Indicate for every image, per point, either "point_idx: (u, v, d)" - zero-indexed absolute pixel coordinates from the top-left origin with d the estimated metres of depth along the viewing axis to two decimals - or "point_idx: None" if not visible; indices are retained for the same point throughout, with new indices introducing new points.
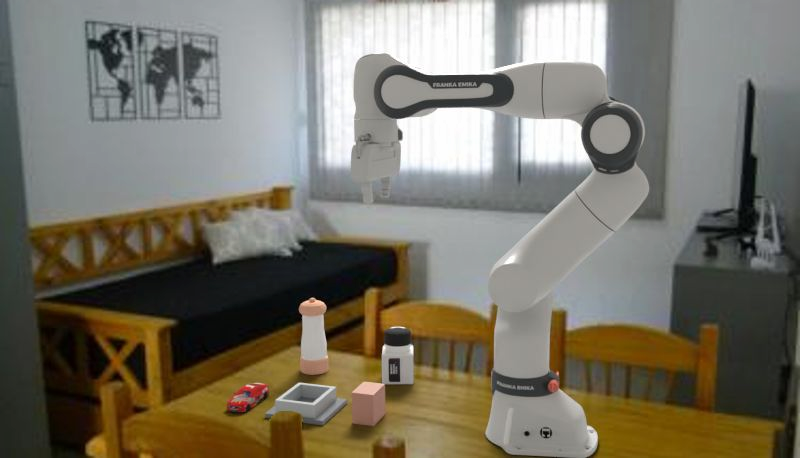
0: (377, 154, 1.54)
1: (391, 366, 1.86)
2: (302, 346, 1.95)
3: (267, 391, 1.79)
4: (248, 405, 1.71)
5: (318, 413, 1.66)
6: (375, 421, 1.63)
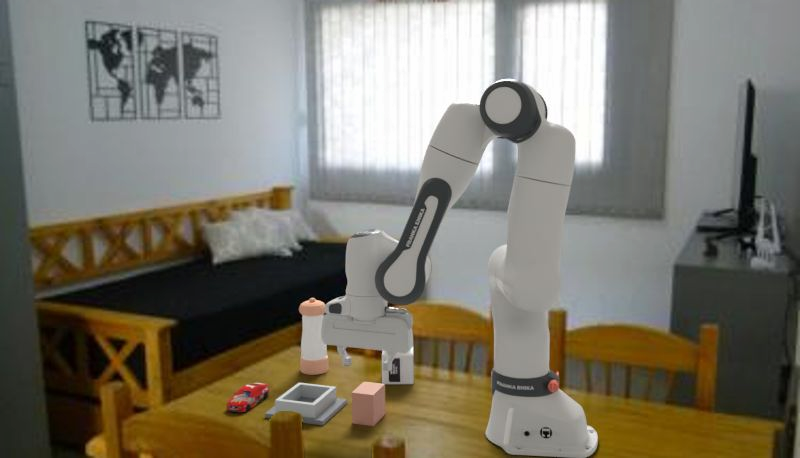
0: None
1: None
2: (302, 346, 1.95)
3: (267, 391, 1.79)
4: (248, 405, 1.71)
5: (318, 413, 1.66)
6: (375, 421, 1.63)
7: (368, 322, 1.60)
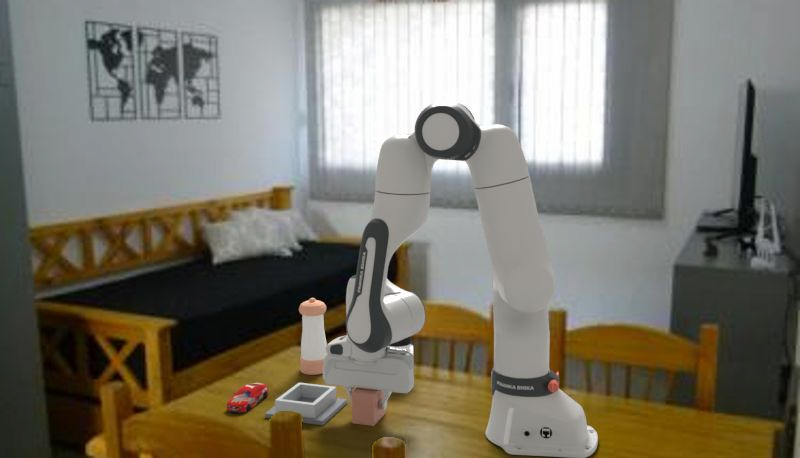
0: None
1: None
2: (302, 346, 1.95)
3: (266, 391, 1.79)
4: (248, 405, 1.71)
5: (318, 413, 1.66)
6: (375, 421, 1.63)
7: (369, 363, 1.61)
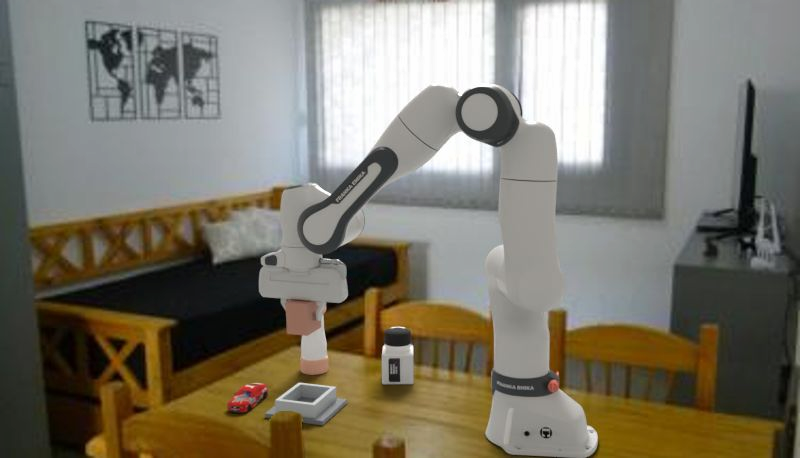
0: None
1: (391, 366, 1.86)
2: (302, 346, 1.95)
3: (266, 391, 1.80)
4: (249, 405, 1.71)
5: (318, 413, 1.66)
6: (309, 331, 1.65)
7: (303, 273, 1.63)
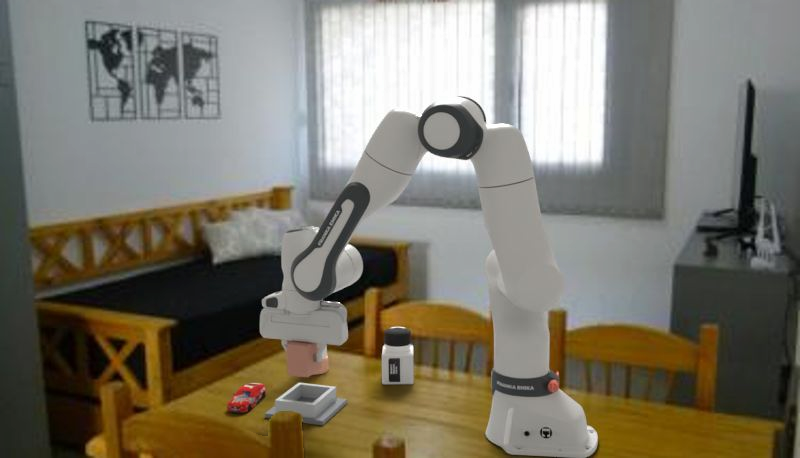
0: None
1: (391, 366, 1.86)
2: None
3: (265, 391, 1.80)
4: (249, 405, 1.71)
5: (318, 413, 1.66)
6: (309, 372, 1.66)
7: (303, 315, 1.65)
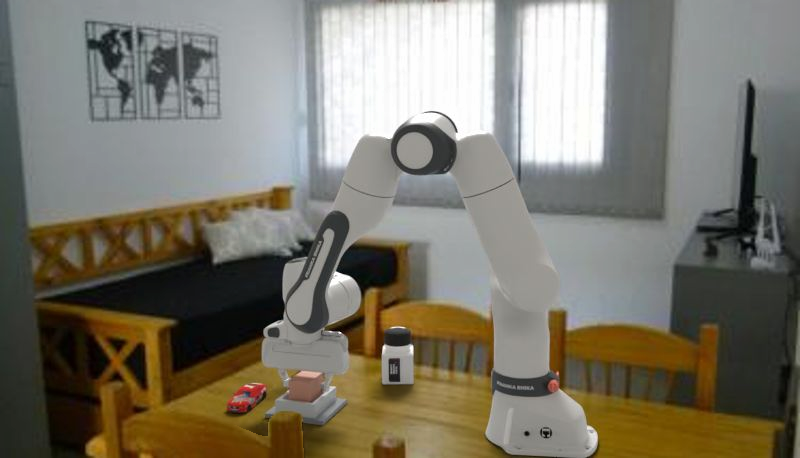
0: None
1: (391, 366, 1.86)
2: None
3: (265, 391, 1.80)
4: (249, 405, 1.71)
5: (318, 413, 1.66)
6: None
7: (305, 345, 1.66)
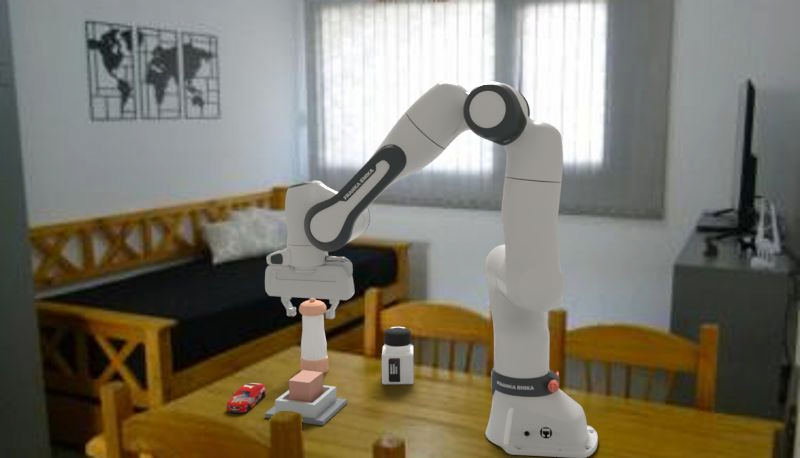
0: None
1: (391, 366, 1.86)
2: (302, 346, 1.95)
3: (264, 391, 1.80)
4: (248, 405, 1.71)
5: (318, 413, 1.66)
6: None
7: (309, 271, 1.63)
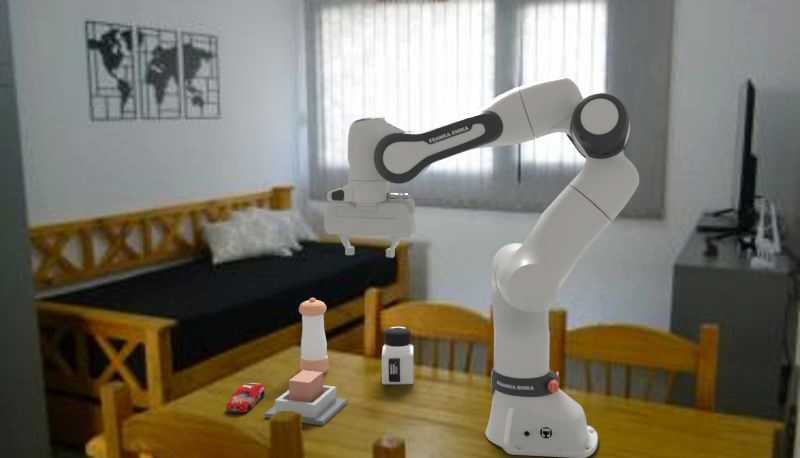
0: None
1: (391, 366, 1.86)
2: (302, 346, 1.95)
3: (263, 391, 1.80)
4: (249, 405, 1.71)
5: (318, 413, 1.66)
6: None
7: (370, 207, 1.61)
